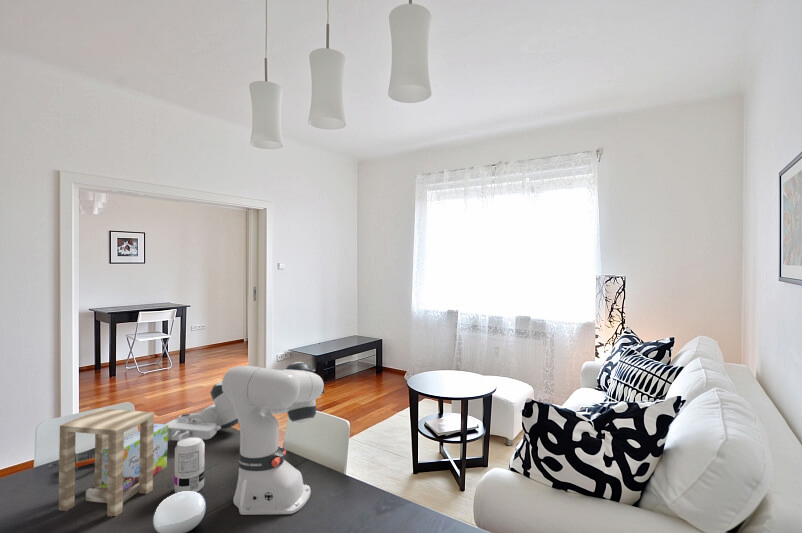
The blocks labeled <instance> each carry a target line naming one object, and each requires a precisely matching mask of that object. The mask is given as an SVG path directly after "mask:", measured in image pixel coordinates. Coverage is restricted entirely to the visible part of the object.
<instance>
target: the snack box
mask: <svg viewBox="0 0 802 533" xmlns="http://www.w3.org/2000/svg"><path fill="white" fill-rule="evenodd" d="M168 440H169V436H168V425H166V423H154V436H153V477H154V476H155V475H157V474H159V473H160V472H162V471H163V470H165V469H166V468H167V467H168V444H169V443H168V442H169V441H168ZM164 468H165V469H164ZM139 477H140V430H139V431H137V432H135V433H133V434H132V435H129V436H127V437H125V438H124V443H123V492H125V491H127V490H128V489H130V488H131V487H133V486H134V485H136V484H138V483H139ZM101 490H108V447H107V448H105V449H103V457H102V485H101Z"/></svg>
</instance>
